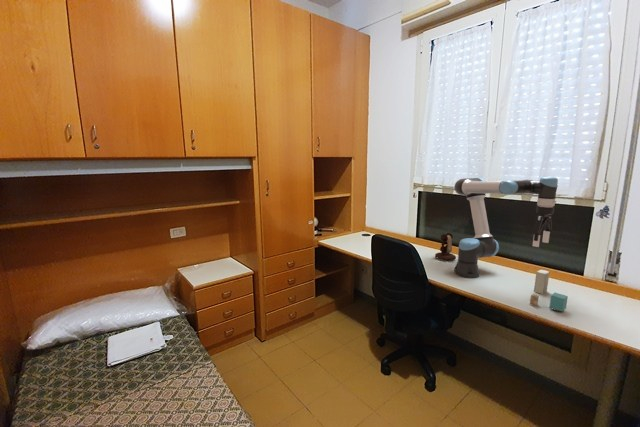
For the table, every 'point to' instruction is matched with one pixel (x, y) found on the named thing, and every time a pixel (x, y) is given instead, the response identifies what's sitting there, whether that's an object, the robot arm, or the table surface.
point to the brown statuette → (446, 248)
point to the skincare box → (541, 281)
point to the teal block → (558, 301)
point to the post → (534, 299)
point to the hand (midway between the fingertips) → (540, 244)
